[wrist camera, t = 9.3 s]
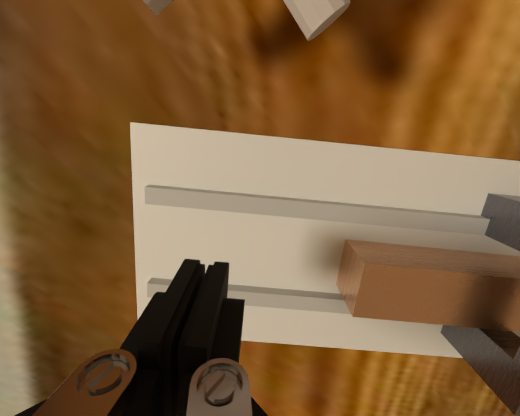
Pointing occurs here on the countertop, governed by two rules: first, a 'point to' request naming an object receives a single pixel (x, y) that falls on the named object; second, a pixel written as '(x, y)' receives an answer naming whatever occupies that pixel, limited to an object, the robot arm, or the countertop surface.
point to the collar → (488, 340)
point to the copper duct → (430, 285)
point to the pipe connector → (293, 13)
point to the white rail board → (302, 224)
